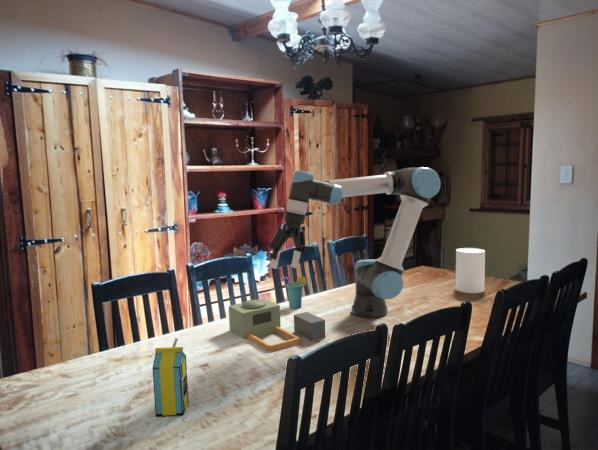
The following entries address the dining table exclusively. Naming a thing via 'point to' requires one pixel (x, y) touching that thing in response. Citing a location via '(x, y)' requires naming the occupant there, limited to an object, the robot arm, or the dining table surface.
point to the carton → (170, 381)
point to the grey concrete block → (309, 326)
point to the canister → (470, 270)
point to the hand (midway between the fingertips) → (284, 267)
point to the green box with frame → (259, 323)
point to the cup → (295, 292)
